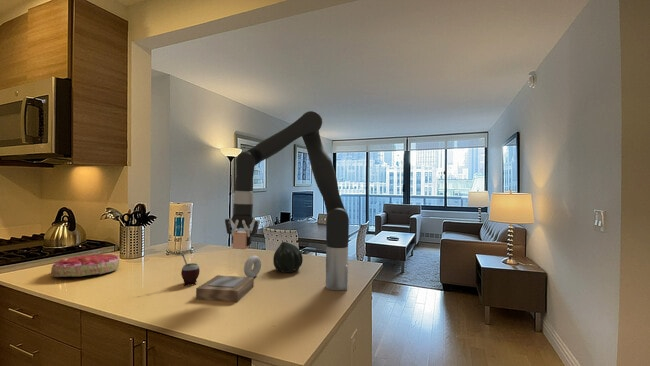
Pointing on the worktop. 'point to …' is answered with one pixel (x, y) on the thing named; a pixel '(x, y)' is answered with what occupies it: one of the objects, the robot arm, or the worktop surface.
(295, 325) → the worktop surface
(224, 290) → the walnut base
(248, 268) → the donut
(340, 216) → the robot arm
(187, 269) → the mate gourd
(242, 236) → the terracotta block
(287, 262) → the squash
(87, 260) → the cake
